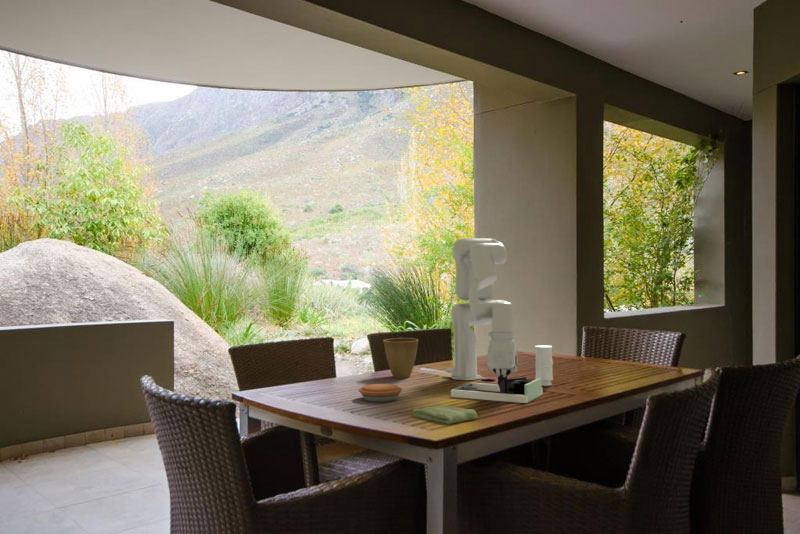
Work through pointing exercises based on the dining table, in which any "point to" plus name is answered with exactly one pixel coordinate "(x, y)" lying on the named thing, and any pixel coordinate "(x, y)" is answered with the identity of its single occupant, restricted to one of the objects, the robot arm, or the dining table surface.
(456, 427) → the dining table surface
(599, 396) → the dining table surface
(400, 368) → the plant pot
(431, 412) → the washcloth
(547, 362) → the candle
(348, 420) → the dining table surface
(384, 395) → the pie
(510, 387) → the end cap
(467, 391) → the finger lane
